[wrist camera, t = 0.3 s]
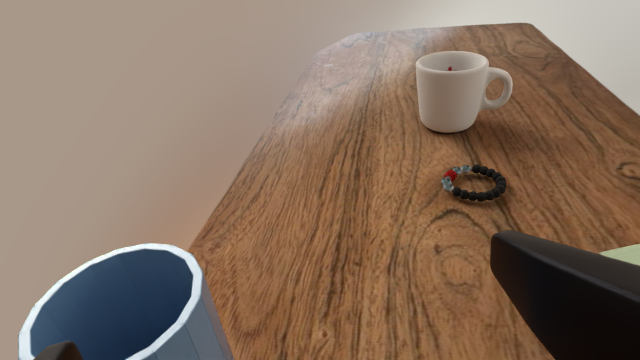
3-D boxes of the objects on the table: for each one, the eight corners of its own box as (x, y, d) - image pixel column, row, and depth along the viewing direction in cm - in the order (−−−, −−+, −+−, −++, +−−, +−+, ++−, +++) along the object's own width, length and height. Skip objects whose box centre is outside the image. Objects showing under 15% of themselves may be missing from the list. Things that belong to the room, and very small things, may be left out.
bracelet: (457, 165, 43) (458, 157, 42) (514, 180, 39) (516, 171, 39) (432, 192, 39) (432, 183, 39) (492, 211, 36) (493, 201, 35)
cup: (502, 111, 53) (511, 48, 48) (510, 140, 46) (522, 71, 42) (416, 111, 55) (417, 51, 51) (412, 138, 49) (413, 72, 45)
